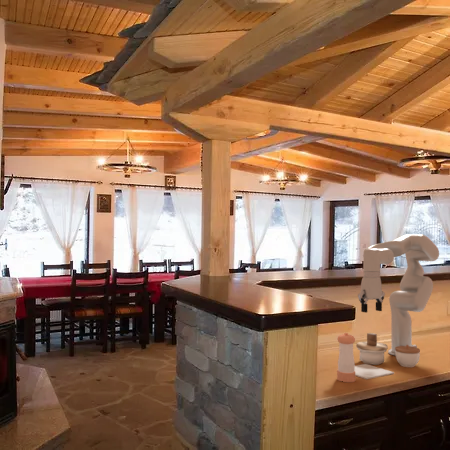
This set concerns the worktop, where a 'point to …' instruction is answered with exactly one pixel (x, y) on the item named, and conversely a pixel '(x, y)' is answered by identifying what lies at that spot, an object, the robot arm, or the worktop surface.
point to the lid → (372, 344)
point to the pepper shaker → (346, 358)
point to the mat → (370, 371)
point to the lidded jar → (407, 355)
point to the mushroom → (372, 356)
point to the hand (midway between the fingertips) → (371, 311)
